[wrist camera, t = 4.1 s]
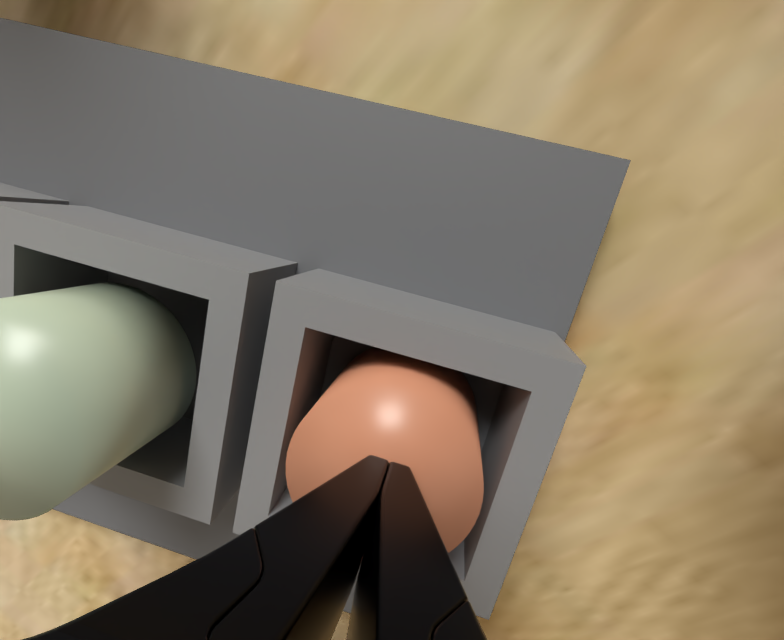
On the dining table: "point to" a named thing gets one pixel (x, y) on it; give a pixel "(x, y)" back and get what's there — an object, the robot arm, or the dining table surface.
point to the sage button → (83, 388)
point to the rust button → (397, 434)
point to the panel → (297, 268)
